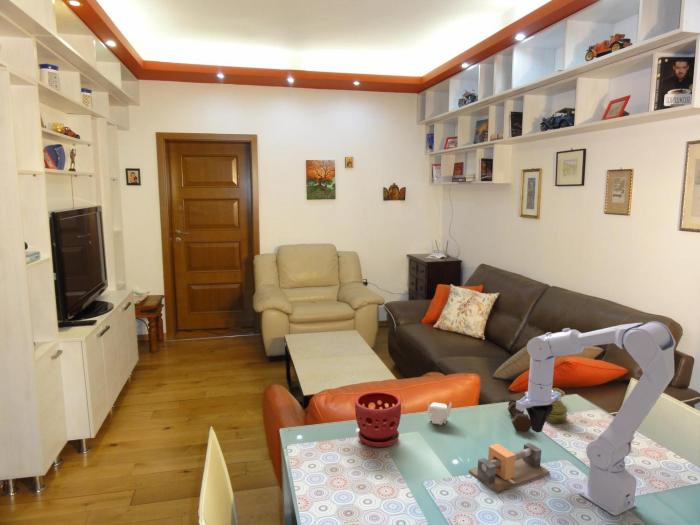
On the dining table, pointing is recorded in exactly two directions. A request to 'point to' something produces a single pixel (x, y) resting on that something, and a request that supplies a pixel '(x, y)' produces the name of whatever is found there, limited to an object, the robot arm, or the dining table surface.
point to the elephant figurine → (438, 412)
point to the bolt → (519, 418)
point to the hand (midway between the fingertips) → (536, 430)
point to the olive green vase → (558, 410)
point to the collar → (502, 460)
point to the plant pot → (378, 418)
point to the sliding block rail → (523, 472)
